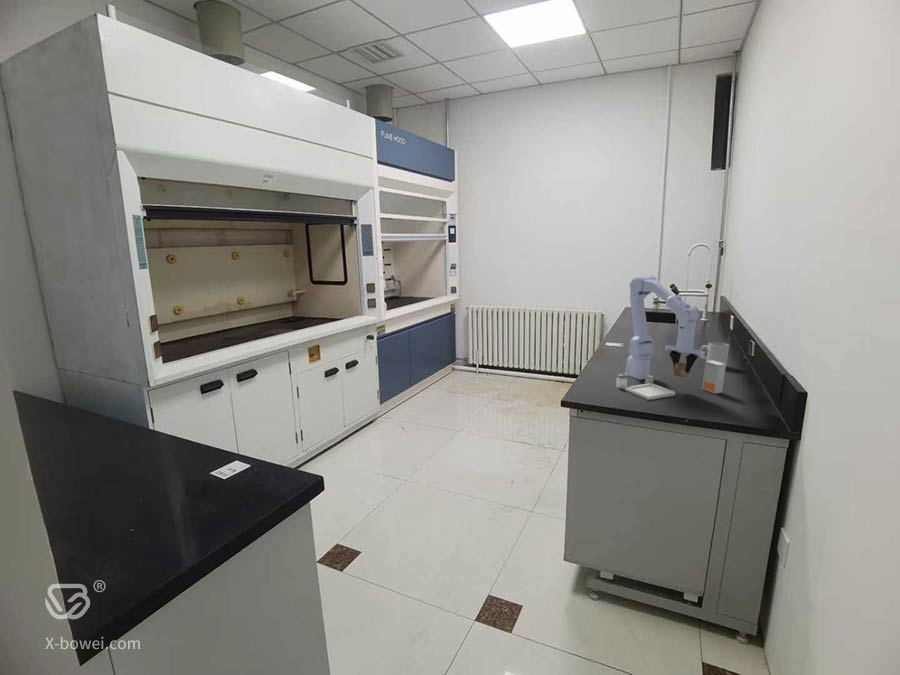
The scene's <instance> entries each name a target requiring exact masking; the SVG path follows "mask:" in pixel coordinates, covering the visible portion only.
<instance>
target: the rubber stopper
mask: <svg viewBox="0 0 900 675" xmlns="http://www.w3.org/2000/svg"><path fill="white" fill-rule="evenodd" d="M648 383H652V384H654V377H653V378H652V377H646V379H644V384H648Z"/></svg>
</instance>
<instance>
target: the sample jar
mask: <svg viewBox="0 0 900 675" xmlns="http://www.w3.org/2000/svg"><path fill="white" fill-rule="evenodd" d="M628 377H629V376H628V375H626V374H624V373H617V374H616V383H615V384H616V385H615V387H616V389H617V388H618V389H623V390H625V387H628V386H627V385H628Z"/></svg>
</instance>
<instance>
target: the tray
mask: <svg viewBox="0 0 900 675" xmlns="http://www.w3.org/2000/svg"><path fill="white" fill-rule="evenodd" d="M624 391H625V392H627V393H630V394H632V395H634V396H637V397H639V398H642V399H643V400H646V401H651V400H657V399H663V398H668V397H674V396H676V391H675V390H672V389H669V388H666V387H663V386H661V385H657V384H655V383H653V384H652V383H648V384H645V383H642V384H636V385H631V386H627V387H625V389H624Z"/></svg>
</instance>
